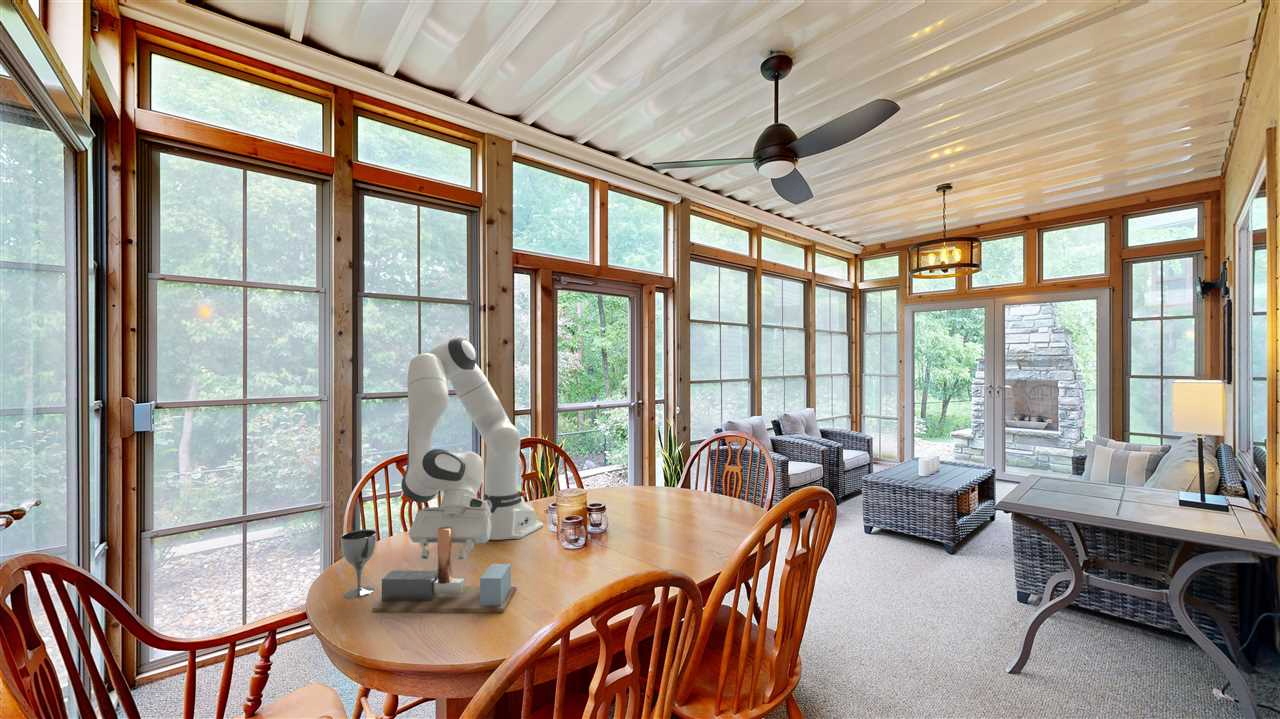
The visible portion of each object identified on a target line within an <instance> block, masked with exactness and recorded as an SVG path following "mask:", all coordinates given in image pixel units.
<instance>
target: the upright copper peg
mask: <svg viewBox="0 0 1280 719" xmlns="http://www.w3.org/2000/svg"><path fill="white" fill-rule="evenodd" d="M452 545H453V543H452V528H451V527H441V528H439V529H438V543H437V571H438V578H435V579H434V580H433V581H432V593H462V591H463V590H464V589H465V585H466V584H465V578H452V576H453V575H452V572H453V570H452V569H453V568H452V567H453V566H452V564H453V563H452V562H453V560H452V559H453V558H452V556H453V555H452V553H453V552H452V548H453V546H452Z"/></svg>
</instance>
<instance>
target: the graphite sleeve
mask: <svg viewBox="0 0 1280 719" xmlns="http://www.w3.org/2000/svg"><path fill="white" fill-rule="evenodd" d="M435 578H438V570H406V569H405V570H402V569H399V570H396V569H395V570H391V571H390V572H389V573H387V574H386V575H385V576H384V577H383V578H381V600H382V601H413V602H430V601H431V600H432V599H433V598H434V597H435V596H436V595H437V594H438V593H432V581H433V580H434V579H435Z"/></svg>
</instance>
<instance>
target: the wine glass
mask: <svg viewBox="0 0 1280 719" xmlns="http://www.w3.org/2000/svg"><path fill="white" fill-rule="evenodd" d="M340 541H341V542H340V543H341V551H342V554H343V558H344V559H345V561H346V562H347V563H348V564H349V565H351V566H352V567H353V568H354V571H355V573H356V580H357V581H356V582H357V585H356V587H353V588H350V589H348V590H345V592H344V593H343V595H342V596H343V597H344V598H345V599H359V598H364V597H366V596H369V595H371V594H373V593H374V591H375V587H374V586H373V587H372V586H369V585H367V586H366V585H364V586H362V582H361V580H362V571H363V569H364V567H365V565H366V564H367V563H368V561H370V559H371V558H372V556H373V555H374V554H375V549H376V543H377V532H376V529H366V528H365V529H364V528H363V529H358V530H357V529H355V530H351V531H348V532H345V533H344V534H342V535H341V540H340Z"/></svg>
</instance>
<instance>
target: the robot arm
mask: <svg viewBox="0 0 1280 719" xmlns="http://www.w3.org/2000/svg"><path fill="white" fill-rule="evenodd" d="M477 357H478V356H477V351H476V349H475V347H474V345H473V344H472V342H471V341H470V340H468V339H466V338H464V337H456V338H455V337H454V338H452V339H450V340H449V341H446V342H443V343H441V344H439V345H436V346H435V347H433V348H432V349H430V350H429V351H427V352H426V353H425V352H424V353H420V354H417V355H415V356H414V357H412V359H411V360H410V361H409V365H408V371H407V381H406V382H407V383H406V384H407V385H406V386H407V400H408V401H407V402H408V405H407V406H408V422H407V423H408V428H407V452H406V453H407V454H406V455H407V459H406V460H407V461H406V463H407V464H406V469H405V472H404V474H403V476H402V479H401V486H400V487H401V490H402V492H403V494H404V496H406V498H407V499H409V500H410V501H412V502H414V503H415V502H416V503H420V504H421V503H427V502H430V501H432V500H433V499H434V498H435V496H436V495H437V494H438V493H439V492H440V491H443V495H442V499H441V503H440V505H439V506H437V507H436V506H433V507H429V506H426V507H423V508H422V509H421V508H420V509H419V510H418V511H416V514H415V516H414V520H413V522H412V523H411V526H410V528H409V530H408V531H409V532H408V536H409V539H410V540H411V541H412V542H413V543H417V544H418V543H419V545H420V547H421V552H420V558H421V559H423V560H427V559H429V557H430V554H431V552H430V550H429V549H427V548H426V547H428V546H429V544H430V543H431V544H433V543H435V544H438V529H439V528H441V527H451V528H452V544H466V545H465V546H464V547H463V549H459V551H458V556H457V557H458V559H459V560H466V558H467V555H468V553H469V552H470V551H471V550H472V549H473V548H474V546H475V544H486V543H487V542H489V541H490V540H493V541H495V540H496V541H497V540H498V541H499V540H501V541H502V540H510V539H515V540H516V539H517V540H518V539H522V538H524V537H526V536H528V535H529V534H531V533H533V532H536V531H537V530H539V529H541V528H542V527H544V523H543V522H542V521H540V520H538V519H537V513H536V511H535V508H534V507H532V506H530V505H529V504H527V503H526V502H524V501H523V499H522V497H523V498H526V497H527V496H528V492H527V491H526V490H525V491H524V490H521V491H519V488H518V487H519V483H518V482H519V480H518V479H519V464H520V463H519V462H520V452H521V439H522V438H521V432H520V430H519V429H518V428H517V427H516V426H515V425H514V424H513V423H512V422H511V420H510V418H509V417H508V415H507V413H506V411H505V409H504V407H503V406H502V404H501V401H500V399H499V397H498V395H497V394H496V392H495V390H494V388H493V387H492V385H491V384H490V382H489V380H488V378H487V377H486V375H485V374H484V372H483V371H482V369H481V368H480V366H478V364H477ZM448 381H450V383H451V384H450V385H451V386H452V388H453V390H454V392H455V394H456V395H457V397H458V399H459V400H460V402H461V404H462V406H463V407H464V409H465V410H466V412H467V414H468V416H469V417H470V419H471V421H472V423H473V424H474V426H475V428H476V429H477V431H478V433H479V434H480V436H481V438H482V439H483V441H484V443H485V445H486V455H485V456H486V457H485V464H484V461H483V459H482V457H481V456H480V455H479V454H477V453H476V452H474V451H470V450H463V451H460V452H459V451H458V452H453V451H452V452H451V451H448V450H445V449H442V448H434V449H432V437H433V433H434V430H435V428H436V427H437V425H438V422H439V421H440V419H441V418H442V416H443V415H444V413H445V411H446V409H447V407H448V402H449V386H448V384H449V383H448ZM483 478H484V493H483V499H480V498H478V492H479V490H480V489H481V487H482V481H483Z"/></svg>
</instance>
